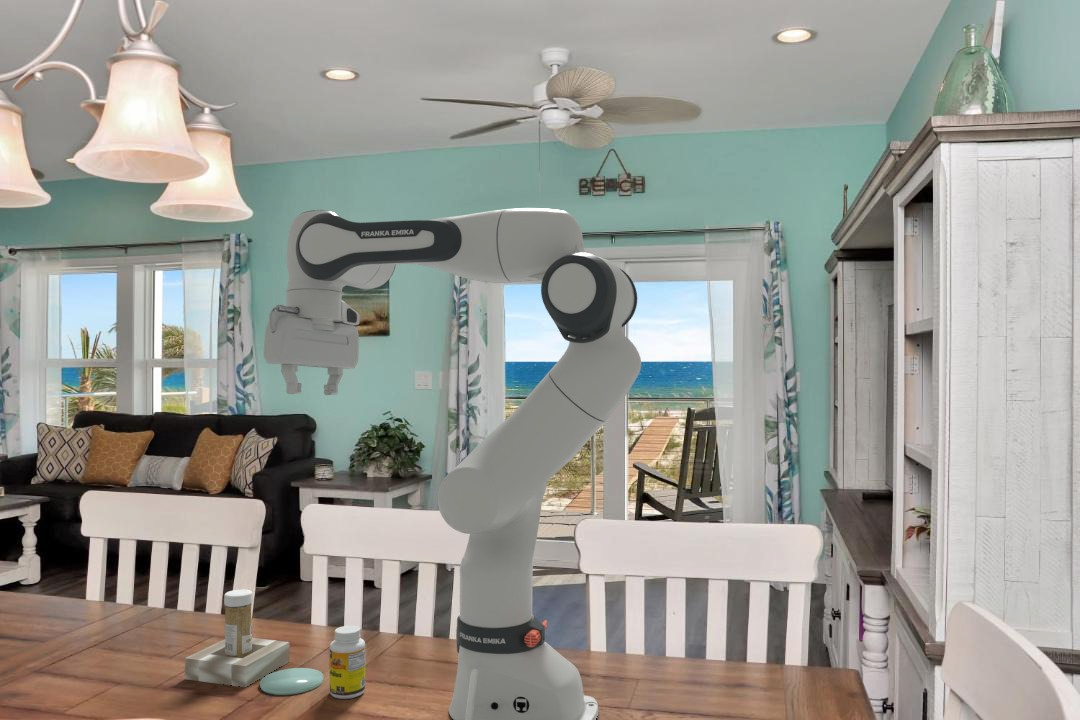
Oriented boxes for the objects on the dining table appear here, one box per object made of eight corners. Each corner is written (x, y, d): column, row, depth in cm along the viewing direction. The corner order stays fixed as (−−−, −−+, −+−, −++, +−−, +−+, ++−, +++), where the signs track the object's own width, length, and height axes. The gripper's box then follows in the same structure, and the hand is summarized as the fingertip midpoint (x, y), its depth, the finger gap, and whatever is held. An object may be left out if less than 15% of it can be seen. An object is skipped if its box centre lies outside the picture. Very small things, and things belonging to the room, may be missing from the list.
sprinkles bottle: (255, 671, 142) (255, 593, 142) (227, 677, 139) (227, 597, 139) (248, 663, 146) (248, 587, 146) (221, 669, 143) (221, 591, 143)
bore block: (289, 661, 146) (289, 642, 146) (245, 687, 135) (245, 666, 135) (232, 654, 150) (232, 635, 150) (185, 679, 138) (184, 658, 138)
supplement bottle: (324, 692, 133) (323, 628, 133) (356, 683, 136) (356, 621, 136) (338, 703, 129) (338, 637, 129) (371, 694, 132) (371, 630, 132)
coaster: (334, 675, 140) (334, 671, 140) (300, 698, 130) (300, 694, 130) (284, 668, 143) (284, 665, 143) (246, 690, 134) (246, 686, 134)
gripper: (287, 301, 126) (285, 393, 125) (365, 316, 144) (364, 395, 144) (254, 304, 128) (252, 393, 127) (335, 317, 147) (334, 395, 146)
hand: (312, 394), depth 136 cm, fingers open, 8 cm apart
